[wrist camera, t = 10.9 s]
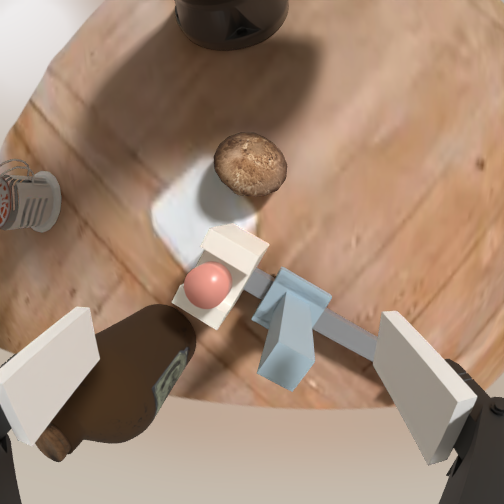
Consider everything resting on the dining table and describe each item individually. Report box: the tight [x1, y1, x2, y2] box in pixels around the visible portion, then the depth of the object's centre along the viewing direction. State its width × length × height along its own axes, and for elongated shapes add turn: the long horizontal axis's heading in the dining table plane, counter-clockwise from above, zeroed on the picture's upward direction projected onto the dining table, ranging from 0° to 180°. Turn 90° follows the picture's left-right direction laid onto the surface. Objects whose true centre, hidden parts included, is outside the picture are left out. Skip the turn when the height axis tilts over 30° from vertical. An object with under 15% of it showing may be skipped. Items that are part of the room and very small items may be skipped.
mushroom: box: [214, 133, 287, 196], centre depth 34 cm, size 8×8×6 cm
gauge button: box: [184, 261, 232, 309], centre depth 27 cm, size 4×4×2 cm
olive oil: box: [35, 304, 196, 462], centre depth 29 cm, size 11×11×25 cm
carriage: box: [251, 267, 332, 391], centre depth 28 cm, size 6×6×17 cm
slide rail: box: [172, 223, 378, 362], centre depth 33 cm, size 32×8×10 cm, turn 61°
